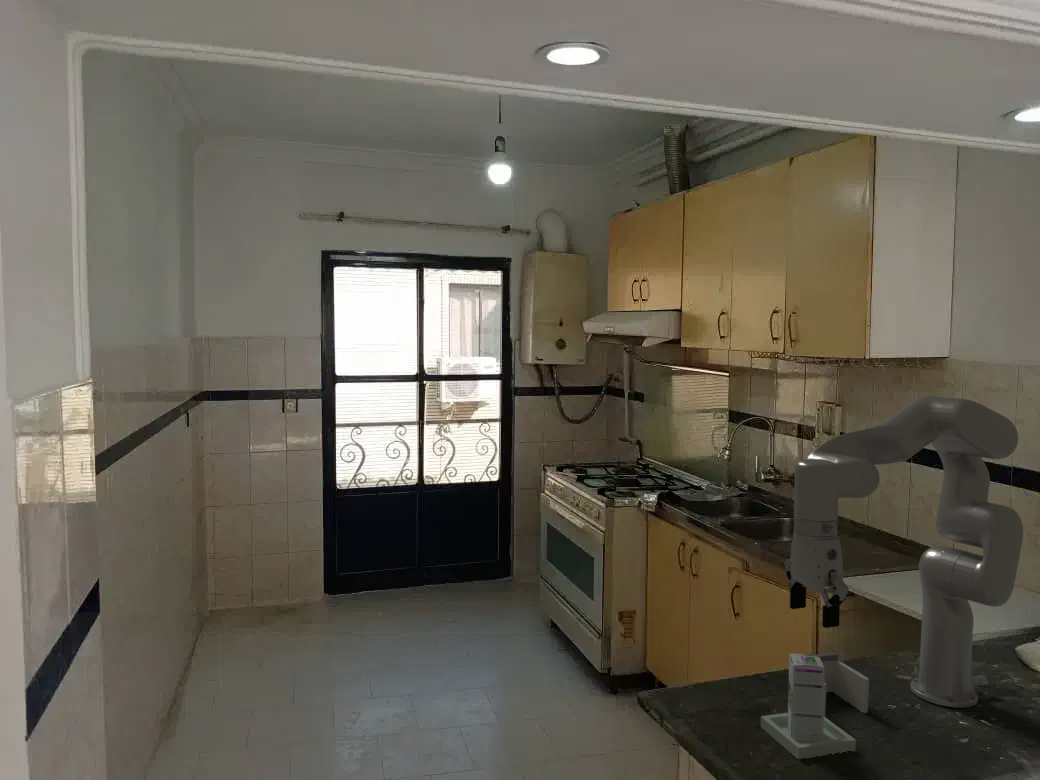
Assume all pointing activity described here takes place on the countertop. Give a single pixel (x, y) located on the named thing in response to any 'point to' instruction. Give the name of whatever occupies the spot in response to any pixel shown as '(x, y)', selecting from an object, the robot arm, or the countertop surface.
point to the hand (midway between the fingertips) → (813, 617)
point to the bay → (845, 682)
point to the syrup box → (806, 697)
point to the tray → (831, 743)
